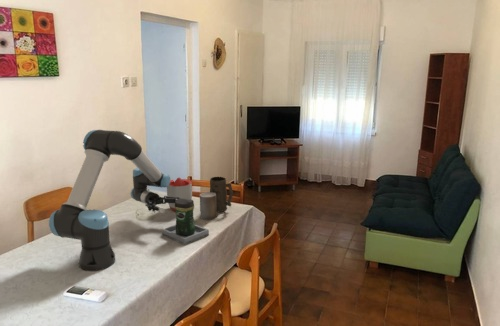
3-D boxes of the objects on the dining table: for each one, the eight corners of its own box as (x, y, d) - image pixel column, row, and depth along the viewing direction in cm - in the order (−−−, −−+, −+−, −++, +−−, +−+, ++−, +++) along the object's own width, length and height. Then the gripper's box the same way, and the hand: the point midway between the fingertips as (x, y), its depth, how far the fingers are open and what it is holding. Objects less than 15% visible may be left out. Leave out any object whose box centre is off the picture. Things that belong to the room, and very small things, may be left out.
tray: (184, 244, 196) (184, 239, 195) (162, 234, 208) (162, 229, 207) (208, 235, 208) (208, 229, 207) (186, 226, 219) (186, 221, 219)
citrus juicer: (190, 202, 258) (189, 172, 254) (194, 211, 242) (193, 179, 237) (165, 205, 253) (164, 174, 249) (168, 214, 237) (167, 181, 233)
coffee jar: (197, 231, 209) (196, 198, 205) (189, 237, 202) (188, 202, 198) (181, 228, 213) (180, 195, 209) (173, 234, 206) (171, 200, 202)
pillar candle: (219, 214, 237) (218, 190, 234) (213, 220, 228) (212, 195, 224) (203, 213, 239) (202, 189, 236) (197, 219, 230) (196, 194, 227)
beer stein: (205, 210, 243) (207, 179, 238) (212, 205, 253) (213, 175, 248) (229, 215, 239) (231, 183, 234) (235, 209, 249) (237, 178, 244)
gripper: (168, 199, 234) (192, 208, 220) (131, 210, 216) (154, 220, 202) (168, 187, 233) (191, 195, 219) (130, 197, 215) (153, 206, 201)
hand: (173, 207), depth 211 cm, fingers open, 13 cm apart
